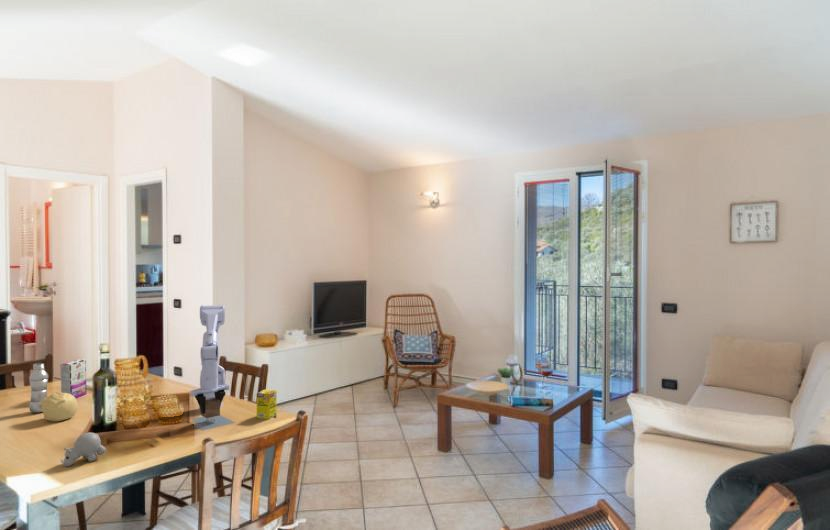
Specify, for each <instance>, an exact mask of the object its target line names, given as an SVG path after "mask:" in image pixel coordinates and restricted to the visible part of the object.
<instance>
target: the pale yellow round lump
mask: <svg viewBox="0 0 830 530" xmlns="http://www.w3.org/2000/svg"><path fill="white" fill-rule="evenodd" d="M40 404H41V409H42V411H43V412H42V413H43V414H42V415H43V417H44V419H45V420H46V421H49V422H57V423H58V422H61V421H65V420H68V419H70V418H72V417H74V416H75V415H76V413H77V411H78V408H79V406H78V405H79V404H78V400H77V398H75V397H74V396H73V395H71V394H69V393H61V391H60V392H59V391H57V392H54V393H52V394H49V395H47V396H46V397H45V398H44V399H42V400H41V402H40Z"/></svg>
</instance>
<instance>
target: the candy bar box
mask: <svg viewBox="0 0 830 530" xmlns="http://www.w3.org/2000/svg"><path fill="white" fill-rule="evenodd" d="M86 360H87V359H86V358H85V359H78V358H76V359H73V360H70V361H68V362H64V363H61V364H60V367H59V368H60V393H69V394H71V395H73V396H74V397H75V398H76V399H77V398H80V397H82V396H85V395H86V394H87V393H88V392H87V369H86V368H87V365H86V363H87V361H86Z"/></svg>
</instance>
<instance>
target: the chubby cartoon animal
mask: <svg viewBox="0 0 830 530" xmlns="http://www.w3.org/2000/svg"><path fill="white" fill-rule="evenodd" d="M64 451H65V453H64V456H65V457H64V458H63V459H62V458H60V463H61V464H63V466H65V467H68V468H69V467H71V466H73V464H74V463H75V461H77V460H79V458H80V457H81V456H82V458H83V460H88V462H89V463H91V462H94V461H95V460H96V459H97V458H98V456H102V455H104V454H105V453H106V452H107V449H106V447H105V446H104V445H102V440H101V438H100V435H99V434H98V433H95V432H84V433H82V434H80V435H79V436H78V437H77V438H76V440H75V442H74V445H73V447H70V448H67V447H64Z"/></svg>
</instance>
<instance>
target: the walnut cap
mask: <svg viewBox="0 0 830 530" xmlns="http://www.w3.org/2000/svg"><path fill="white" fill-rule="evenodd" d="M219 415H221V408H220V400H219V399H217V398H214V397H213V398H208V399H206V400H205V413H204V414H202V413H201V412H200V417H205V418H210V417H215V416H219Z"/></svg>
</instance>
